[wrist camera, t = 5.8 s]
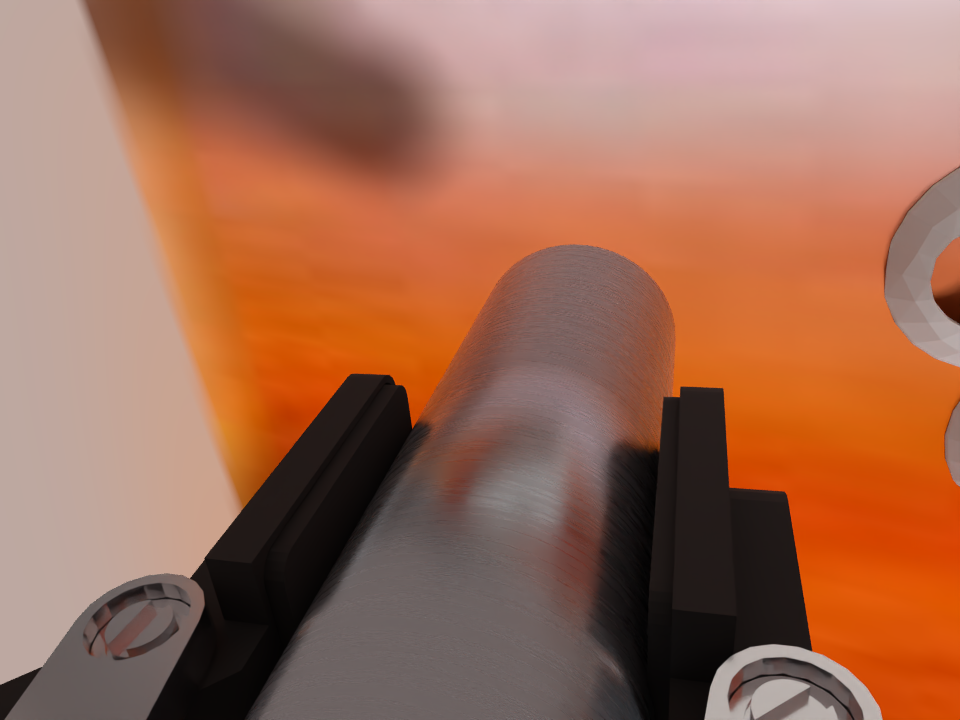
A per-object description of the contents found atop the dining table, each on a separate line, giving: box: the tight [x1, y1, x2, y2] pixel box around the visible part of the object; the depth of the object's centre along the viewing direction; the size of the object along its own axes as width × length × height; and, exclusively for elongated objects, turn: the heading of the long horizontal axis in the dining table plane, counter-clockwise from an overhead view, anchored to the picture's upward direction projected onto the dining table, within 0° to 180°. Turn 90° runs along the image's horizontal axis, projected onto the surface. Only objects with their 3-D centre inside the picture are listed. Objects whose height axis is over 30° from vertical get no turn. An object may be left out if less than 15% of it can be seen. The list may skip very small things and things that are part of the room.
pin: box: [245, 245, 675, 720], centre depth 10 cm, size 4×4×12 cm
